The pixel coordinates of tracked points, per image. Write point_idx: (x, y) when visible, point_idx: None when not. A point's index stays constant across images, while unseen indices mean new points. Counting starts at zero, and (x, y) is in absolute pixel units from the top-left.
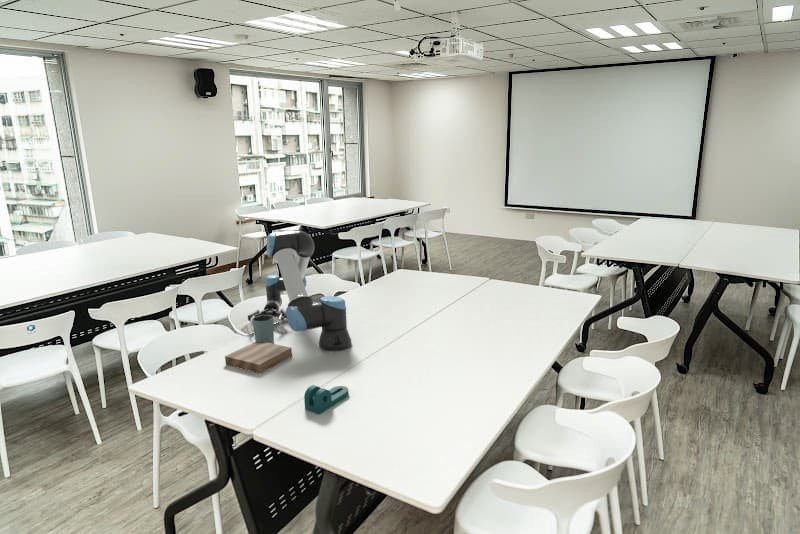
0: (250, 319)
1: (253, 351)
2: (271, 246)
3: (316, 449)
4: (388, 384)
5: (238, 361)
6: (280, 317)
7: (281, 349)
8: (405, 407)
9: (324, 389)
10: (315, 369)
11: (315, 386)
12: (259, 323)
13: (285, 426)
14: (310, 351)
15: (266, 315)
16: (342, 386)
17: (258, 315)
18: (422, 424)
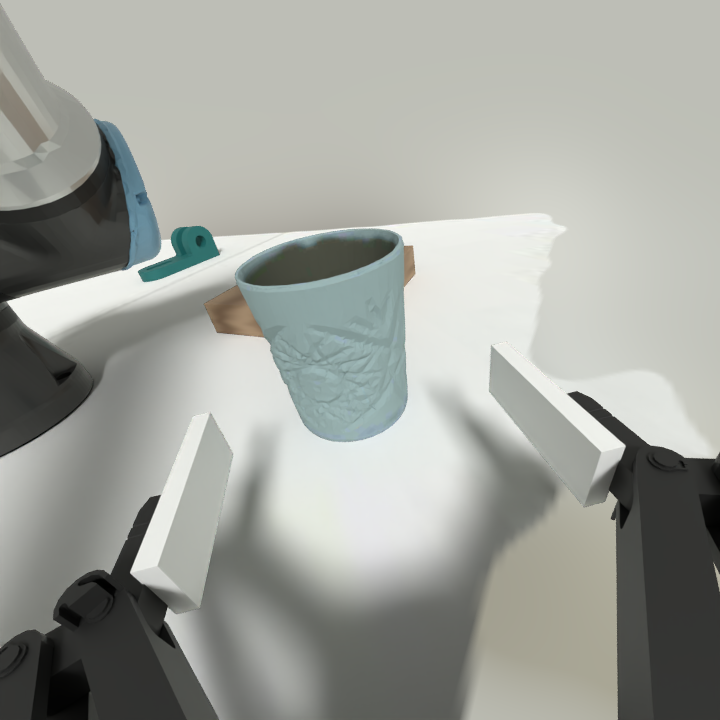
0: (573, 394)
1: None
2: None
3: (218, 238)
4: (58, 304)
5: None
6: (183, 446)
7: (240, 292)
8: (84, 281)
9: (177, 229)
10: (169, 305)
11: (187, 228)
12: (328, 246)
13: (247, 241)
14: (143, 363)
15: (304, 288)
16: (144, 272)
17: (633, 585)
18: None
